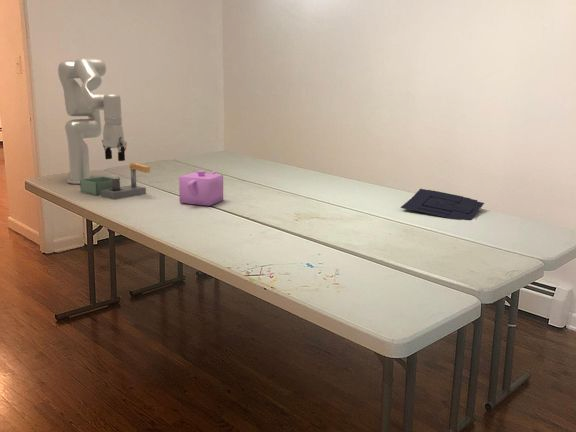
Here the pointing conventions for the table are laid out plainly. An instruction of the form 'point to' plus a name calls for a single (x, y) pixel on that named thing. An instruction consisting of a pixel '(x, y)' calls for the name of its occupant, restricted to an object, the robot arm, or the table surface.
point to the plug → (115, 182)
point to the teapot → (201, 188)
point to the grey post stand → (125, 189)
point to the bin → (95, 185)
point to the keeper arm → (140, 167)
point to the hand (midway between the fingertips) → (115, 159)
